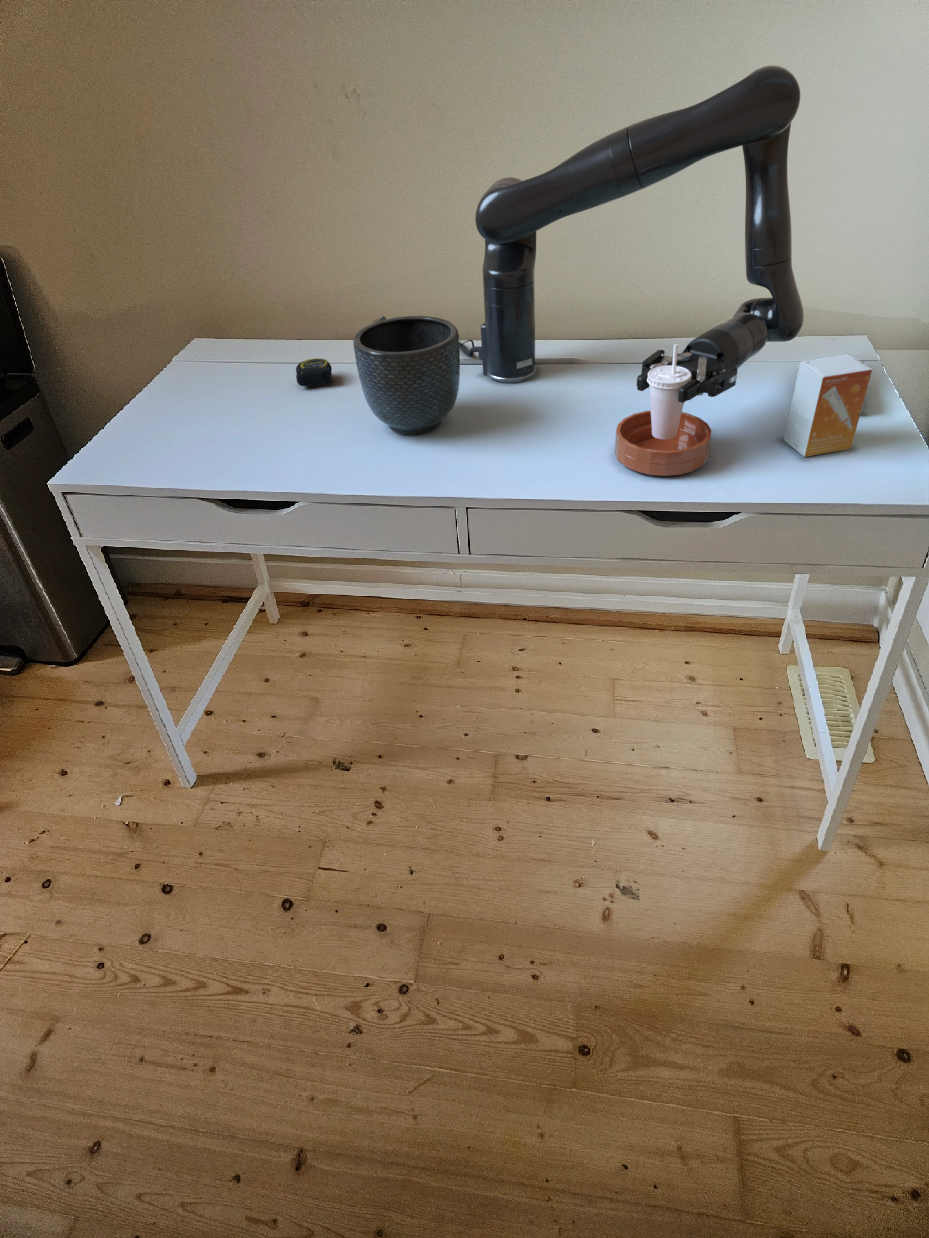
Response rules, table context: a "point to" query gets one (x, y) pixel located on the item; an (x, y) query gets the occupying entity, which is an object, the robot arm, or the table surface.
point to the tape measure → (313, 372)
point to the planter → (409, 371)
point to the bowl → (662, 445)
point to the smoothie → (666, 397)
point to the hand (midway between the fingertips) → (659, 390)
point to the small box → (826, 404)
